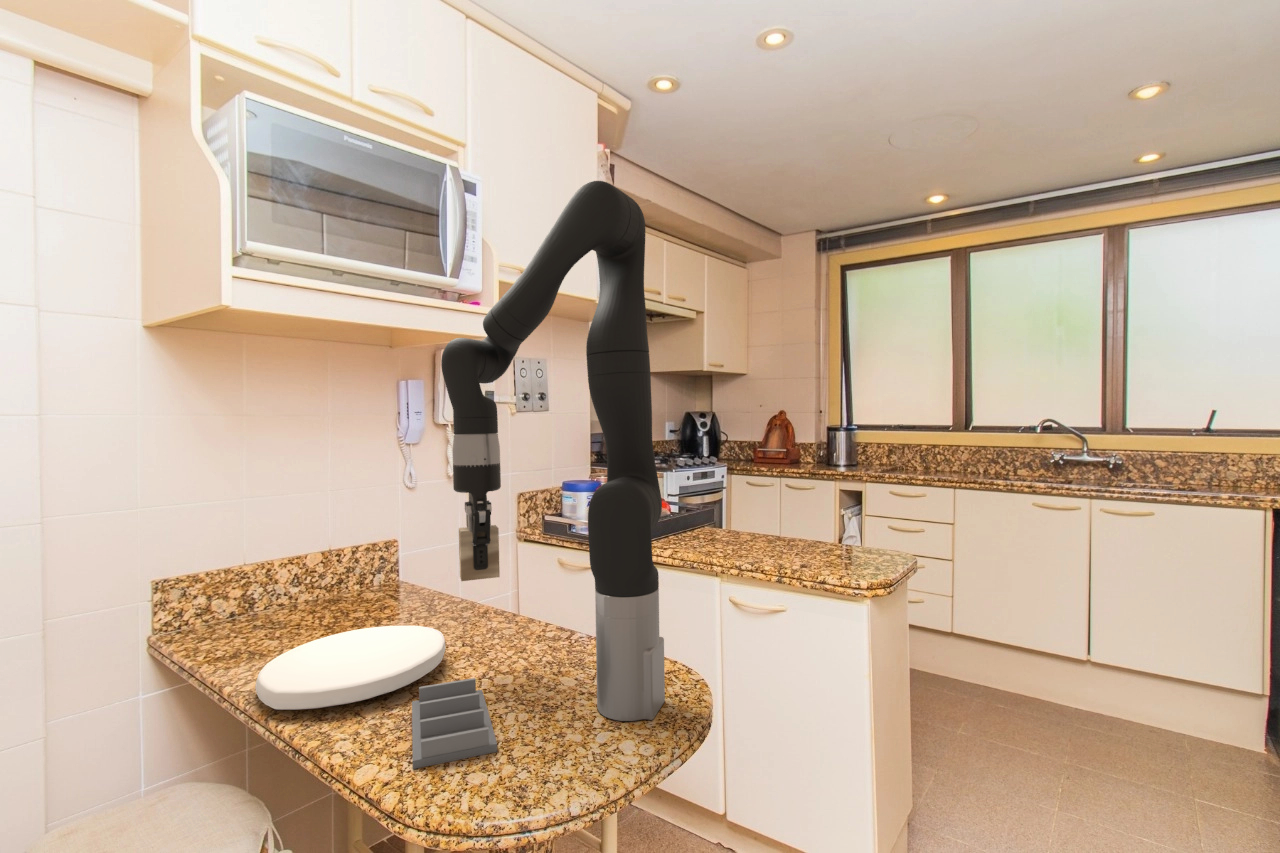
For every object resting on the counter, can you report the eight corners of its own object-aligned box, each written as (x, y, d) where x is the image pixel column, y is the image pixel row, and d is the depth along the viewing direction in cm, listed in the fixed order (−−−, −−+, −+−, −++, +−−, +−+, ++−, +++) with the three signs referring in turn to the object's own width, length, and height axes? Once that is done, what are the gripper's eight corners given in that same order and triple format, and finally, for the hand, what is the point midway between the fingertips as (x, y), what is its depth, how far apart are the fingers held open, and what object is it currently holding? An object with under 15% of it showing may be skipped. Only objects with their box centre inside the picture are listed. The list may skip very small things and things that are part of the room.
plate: (239, 703, 81) (265, 640, 105) (246, 750, 82) (270, 677, 106) (454, 645, 93) (433, 600, 117) (459, 686, 94) (437, 633, 118)
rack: (497, 751, 77) (496, 728, 77) (412, 769, 73) (412, 744, 73) (482, 696, 92) (481, 676, 92) (412, 708, 89) (411, 687, 89)
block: (499, 577, 99) (498, 528, 99) (461, 581, 97) (460, 531, 97) (496, 572, 102) (495, 524, 102) (459, 576, 100) (458, 527, 100)
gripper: (506, 463, 94) (509, 573, 94) (494, 458, 108) (496, 555, 108) (455, 465, 92) (458, 579, 92) (450, 460, 105) (452, 560, 105)
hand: (479, 565), depth 100 cm, fingers closed on block, 3 cm apart
